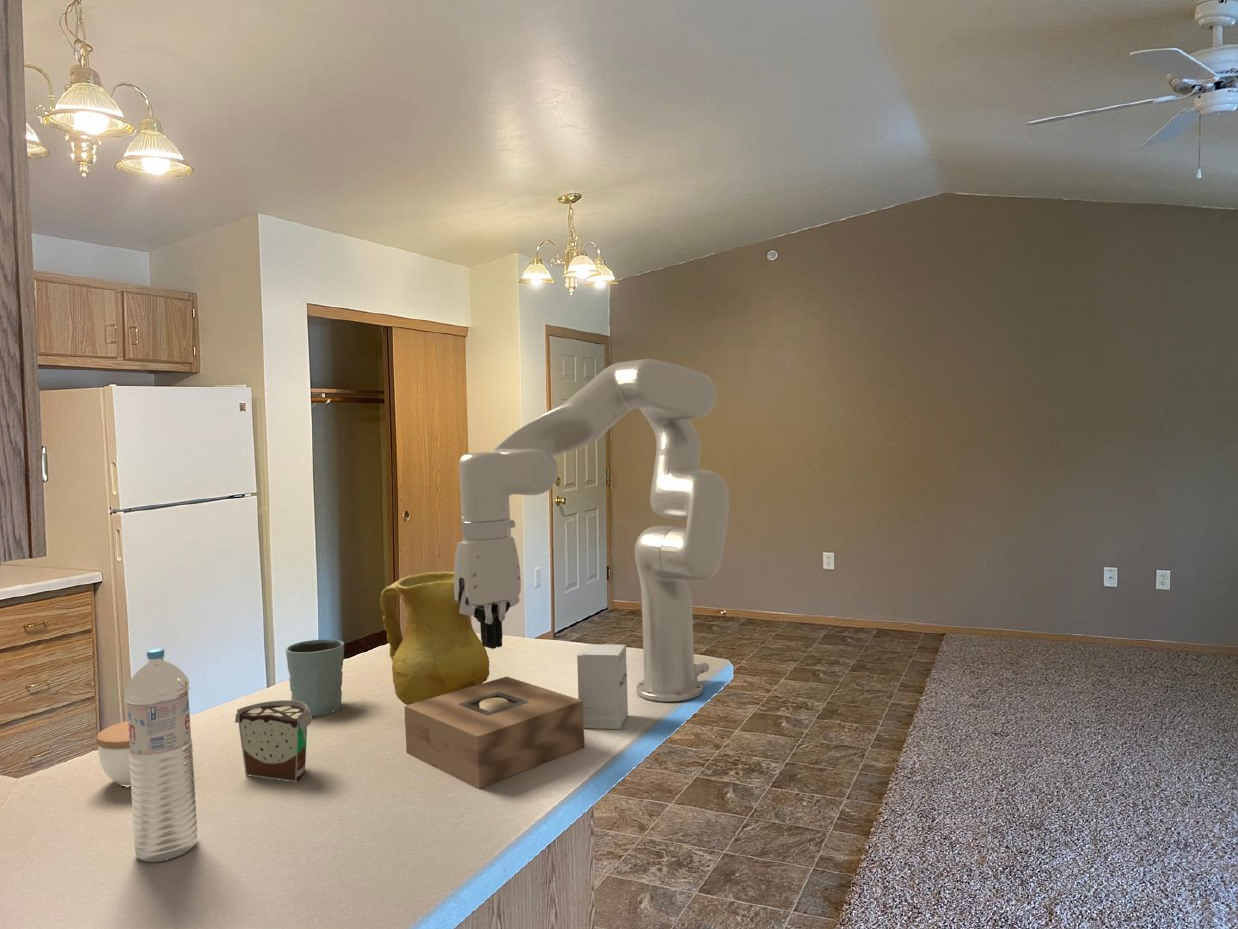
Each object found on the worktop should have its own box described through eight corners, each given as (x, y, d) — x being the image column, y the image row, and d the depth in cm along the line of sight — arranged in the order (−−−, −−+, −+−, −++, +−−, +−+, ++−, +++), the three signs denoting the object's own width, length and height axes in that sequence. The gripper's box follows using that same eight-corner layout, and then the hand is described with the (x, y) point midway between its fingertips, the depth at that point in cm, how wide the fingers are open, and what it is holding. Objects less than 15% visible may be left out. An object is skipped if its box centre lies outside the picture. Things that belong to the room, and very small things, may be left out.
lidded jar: (99, 801, 116) (95, 736, 116) (99, 775, 125) (96, 715, 125) (184, 782, 122) (181, 719, 121) (179, 759, 131) (175, 701, 131)
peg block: (508, 718, 144) (506, 676, 144) (584, 747, 130) (582, 700, 130) (406, 752, 130) (404, 705, 130) (479, 789, 116) (477, 736, 116)
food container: (332, 766, 126) (329, 702, 125) (304, 783, 120) (301, 716, 119) (267, 759, 130) (264, 696, 129) (237, 774, 124) (234, 709, 123)
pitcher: (423, 739, 136) (416, 589, 135) (374, 712, 150) (368, 576, 149) (510, 713, 147) (504, 574, 146) (457, 690, 161) (451, 564, 160)
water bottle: (151, 838, 105) (140, 644, 104) (207, 834, 105) (196, 641, 104) (123, 866, 98) (111, 659, 97) (183, 862, 98) (171, 656, 97)
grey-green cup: (276, 715, 150) (273, 650, 150) (316, 697, 160) (313, 636, 159) (320, 720, 146) (317, 654, 146) (358, 702, 156) (355, 640, 155)
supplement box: (621, 730, 137) (618, 655, 136) (578, 728, 138) (575, 654, 138) (629, 715, 144) (627, 643, 143) (588, 713, 145) (585, 643, 145)
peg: (498, 738, 133) (496, 696, 133) (514, 745, 130) (513, 701, 130) (475, 746, 130) (473, 703, 130) (491, 753, 127) (490, 709, 127)
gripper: (510, 524, 136) (515, 633, 137) (432, 535, 126) (438, 653, 127) (538, 526, 131) (544, 640, 132) (459, 538, 121) (465, 661, 122)
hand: (492, 646), depth 129 cm, fingers closed
